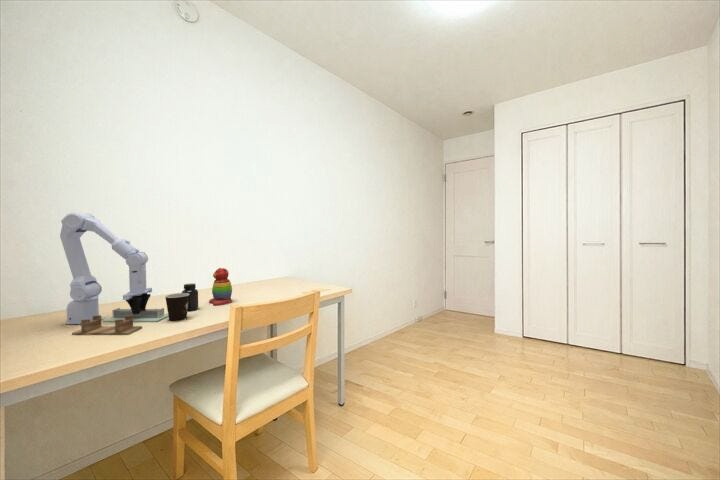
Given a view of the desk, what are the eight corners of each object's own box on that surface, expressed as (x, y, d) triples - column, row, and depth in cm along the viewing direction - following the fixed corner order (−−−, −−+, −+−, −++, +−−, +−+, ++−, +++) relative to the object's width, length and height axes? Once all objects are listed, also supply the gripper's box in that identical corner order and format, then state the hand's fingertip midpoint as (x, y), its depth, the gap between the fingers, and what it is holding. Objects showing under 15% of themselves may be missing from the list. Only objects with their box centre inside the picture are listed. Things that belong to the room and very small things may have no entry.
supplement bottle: (201, 308, 143) (200, 283, 143) (186, 312, 138) (186, 286, 137) (193, 306, 147) (193, 282, 147) (178, 310, 141) (178, 284, 141)
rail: (112, 318, 126) (112, 310, 126) (118, 315, 130) (118, 308, 130) (159, 318, 127) (158, 310, 127) (164, 315, 130) (164, 308, 130)
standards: (71, 334, 109) (71, 320, 108) (89, 328, 116) (88, 314, 115) (128, 334, 109) (127, 320, 109) (142, 328, 116) (141, 314, 116)
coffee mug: (178, 322, 123) (178, 298, 123) (160, 321, 125) (160, 297, 124) (199, 314, 134) (198, 292, 134) (182, 313, 136) (182, 291, 136)
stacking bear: (207, 302, 156) (207, 268, 155) (228, 299, 163) (227, 266, 162) (214, 306, 148) (214, 270, 147) (235, 302, 155) (235, 268, 154)
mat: (102, 322, 123) (102, 320, 123) (121, 315, 133) (121, 313, 133) (157, 322, 123) (157, 320, 123) (172, 315, 133) (172, 313, 133)
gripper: (135, 284, 120) (136, 317, 121) (158, 278, 135) (159, 308, 135) (117, 284, 120) (118, 317, 121) (142, 277, 135) (143, 308, 135)
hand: (138, 312), depth 128 cm, fingers closed on rail, 3 cm apart
